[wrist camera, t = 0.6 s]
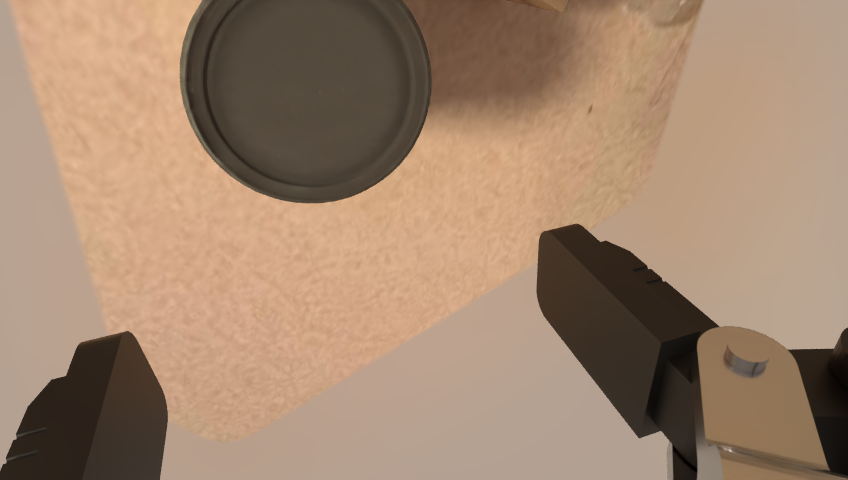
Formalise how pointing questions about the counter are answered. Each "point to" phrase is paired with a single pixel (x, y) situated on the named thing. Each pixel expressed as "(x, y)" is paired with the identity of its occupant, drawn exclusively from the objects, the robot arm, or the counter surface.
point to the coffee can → (306, 92)
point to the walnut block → (545, 4)
